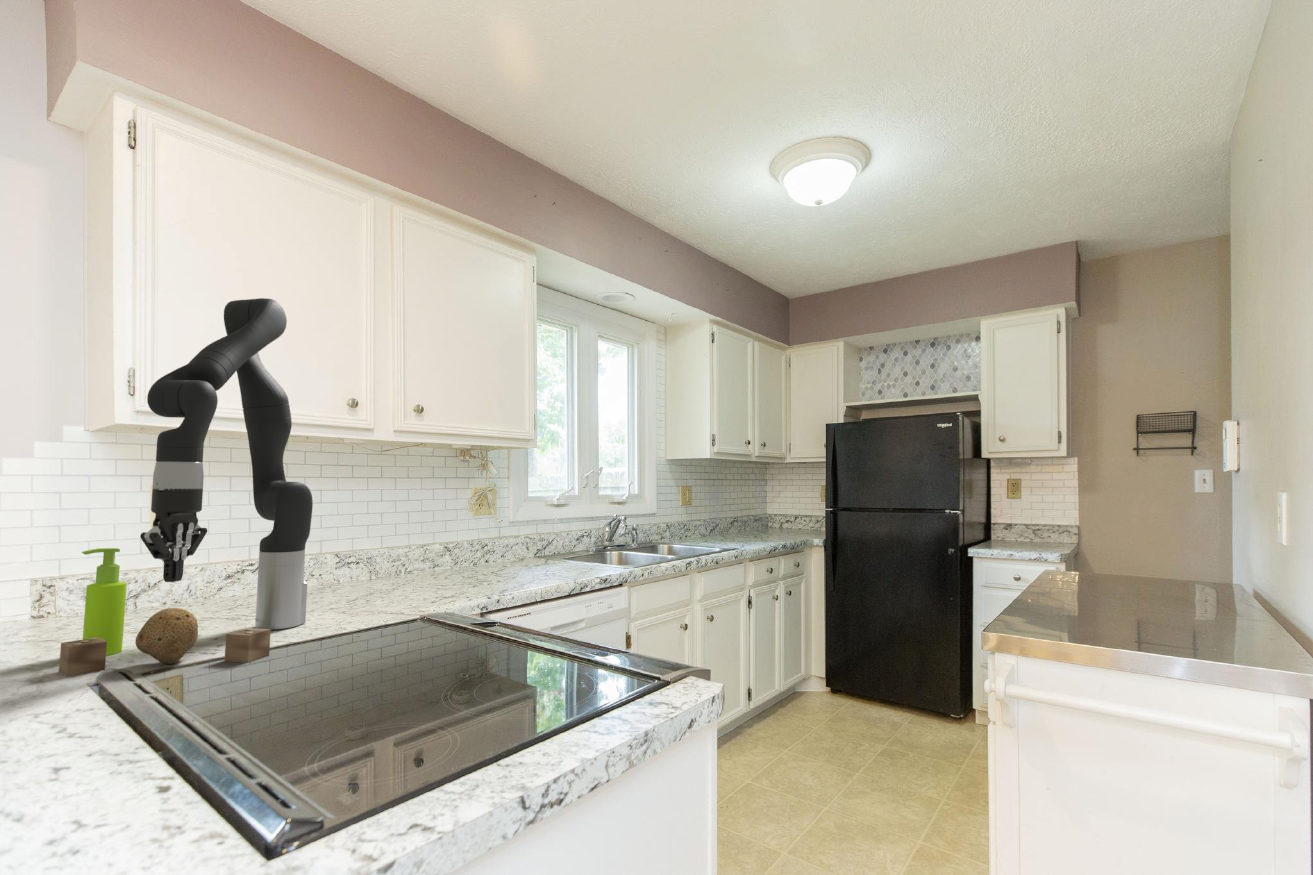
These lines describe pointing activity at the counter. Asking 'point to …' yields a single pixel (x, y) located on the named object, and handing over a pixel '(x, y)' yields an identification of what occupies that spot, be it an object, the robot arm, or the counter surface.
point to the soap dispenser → (106, 603)
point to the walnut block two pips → (247, 645)
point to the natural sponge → (168, 635)
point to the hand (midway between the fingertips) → (172, 581)
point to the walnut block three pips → (82, 656)
